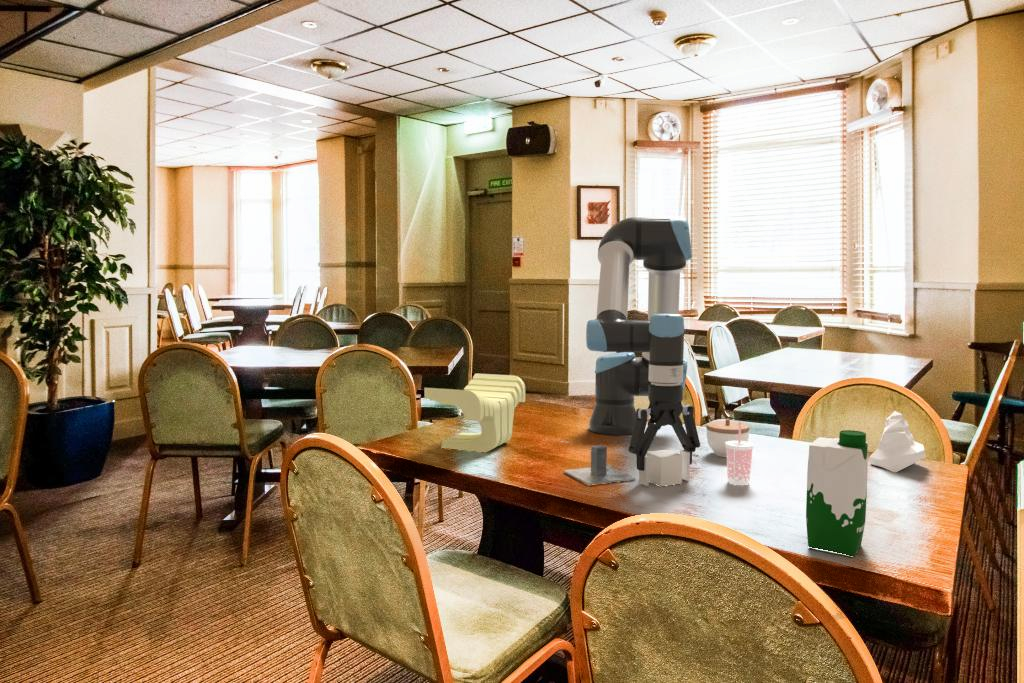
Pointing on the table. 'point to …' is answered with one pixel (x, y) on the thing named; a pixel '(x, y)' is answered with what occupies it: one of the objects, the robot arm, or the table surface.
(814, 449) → the milk carton
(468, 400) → the slatted curved stool
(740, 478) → the beverage cup
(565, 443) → the table surface
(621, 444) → the table surface
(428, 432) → the table surface
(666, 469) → the cream cube
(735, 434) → the lidded jar
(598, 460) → the square grey base plate
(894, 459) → the soft serve ice cream
